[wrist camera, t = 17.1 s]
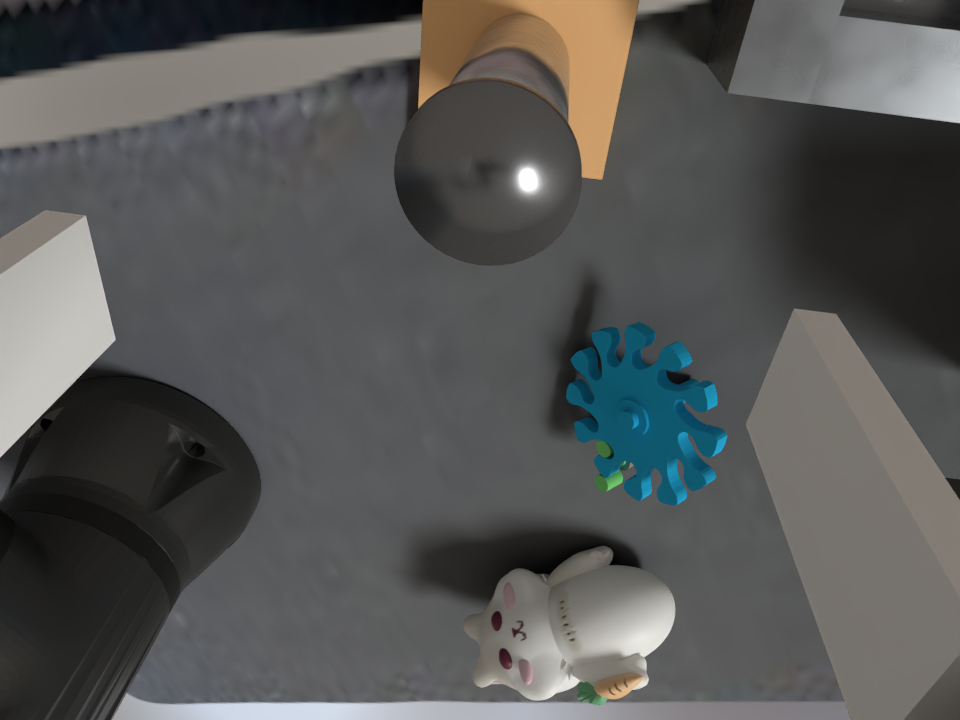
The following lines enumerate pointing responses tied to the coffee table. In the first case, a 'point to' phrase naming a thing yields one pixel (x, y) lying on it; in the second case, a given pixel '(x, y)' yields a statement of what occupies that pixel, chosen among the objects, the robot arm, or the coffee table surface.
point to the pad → (590, 44)
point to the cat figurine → (572, 628)
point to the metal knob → (495, 149)
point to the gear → (643, 415)
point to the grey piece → (843, 54)
